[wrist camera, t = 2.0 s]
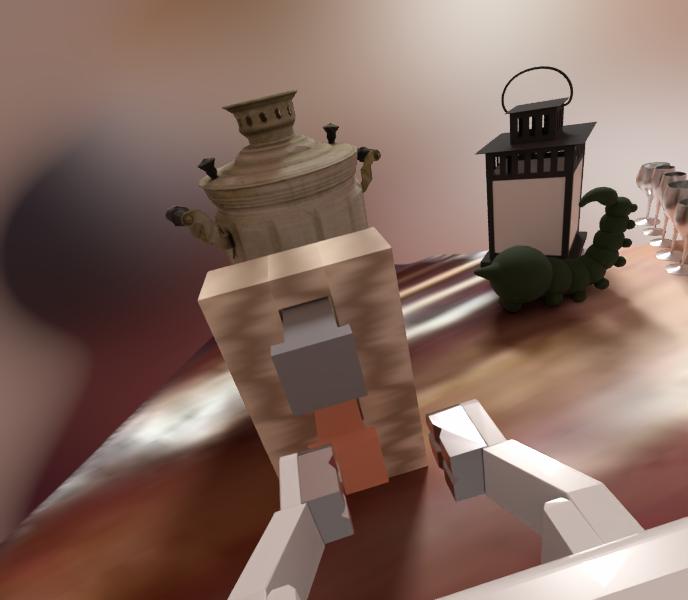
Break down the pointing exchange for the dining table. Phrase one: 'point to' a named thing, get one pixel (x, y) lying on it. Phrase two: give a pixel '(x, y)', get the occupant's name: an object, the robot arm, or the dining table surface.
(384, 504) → the dining table surface
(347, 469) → the terracotta plug
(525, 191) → the lantern
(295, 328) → the charcoal plug
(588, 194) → the toy figurine
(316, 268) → the block
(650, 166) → the goblet set
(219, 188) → the samovar
